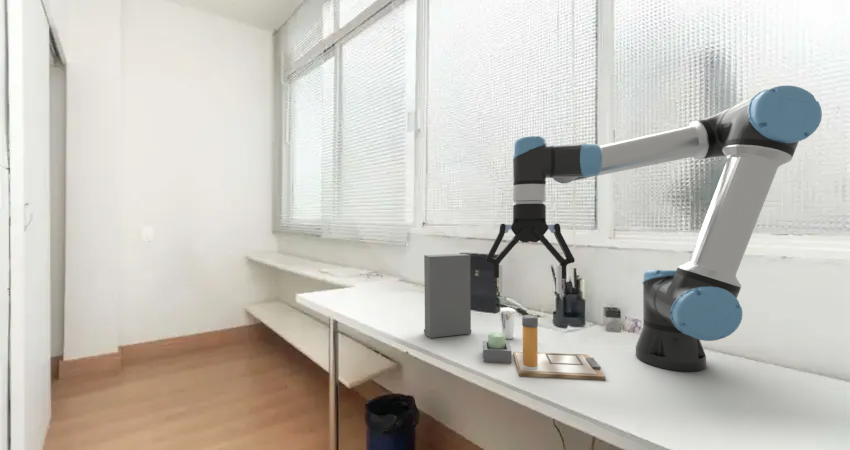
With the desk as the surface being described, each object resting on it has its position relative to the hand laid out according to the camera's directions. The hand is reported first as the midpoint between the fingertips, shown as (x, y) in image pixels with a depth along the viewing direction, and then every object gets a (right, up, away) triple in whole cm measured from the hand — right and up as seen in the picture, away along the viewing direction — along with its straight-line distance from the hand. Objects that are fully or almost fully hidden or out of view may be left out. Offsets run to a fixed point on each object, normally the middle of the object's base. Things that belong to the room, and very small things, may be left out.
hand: (529, 292), depth 92 cm
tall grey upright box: (-18, -19, +30) cm, 39 cm away
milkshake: (+1, -19, +25) cm, 31 cm away
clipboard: (+7, -19, +3) cm, 20 cm away
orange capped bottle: (0, -18, 0) cm, 18 cm away
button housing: (-6, -19, +9) cm, 22 cm away
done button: (-6, -17, +9) cm, 20 cm away
